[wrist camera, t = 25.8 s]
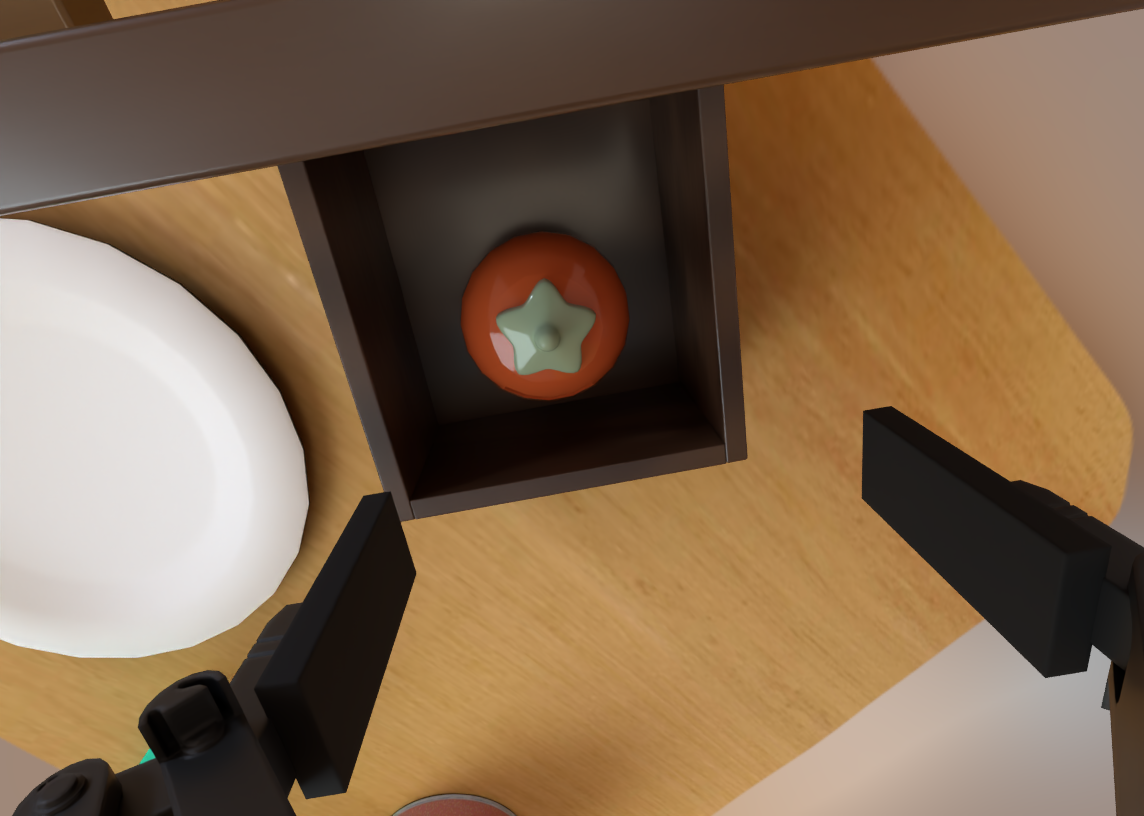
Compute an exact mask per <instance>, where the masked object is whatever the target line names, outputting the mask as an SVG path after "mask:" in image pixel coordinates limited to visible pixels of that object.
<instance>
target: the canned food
mask: <svg viewBox="0 0 1144 816" xmlns="http://www.w3.org/2000/svg"><path fill="white" fill-rule="evenodd" d="M392 816H516V815H515V814H513V813H512V812H511V811H510V810H508V809H507V808H505V807H504V806H502V805H500V804H498V803H496V802H494V801H491V800H488V799H485V798H482V797H477V796H472V795H463V794H447V795H438V796H432V797H428V798H424V799H421V800H418V801H416V802H413V803H411V804H409V805H407V806H405V807H403V808H402V809H400V810H399V811H397V812H396V813H395V814H394V815H392Z"/></svg>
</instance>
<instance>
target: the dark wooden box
mask: <svg viewBox="0 0 1144 816" xmlns="http://www.w3.org/2000/svg"><path fill="white" fill-rule="evenodd" d="M278 169H279V172H280V175H281V178H282V181H283V184H284V187H285V190H286V194H287V197H288V200H289V203H290V206H291V209H292V212H293V215H294V218H295V221H296V224H297V227H298V230H299V233H300V236H301V239H302V242H303V245H304V248H305V252H306V255H307V258H308V261H309V264H310V267H311V270H312V273H313V276H314V279H315V282H316V285H317V288H318V291H319V294H320V297H321V300H322V303H323V307H324V310H325V313H326V316H327V319H328V322H329V325H330V328H331V331H332V334H333V337H334V340H335V343H336V346H337V349H338V352H339V355H340V358H341V362H342V365H343V368H344V371H345V374H346V377H347V380H348V383H349V386H350V389H351V392H352V395H353V398H354V401H355V404H356V407H357V410H358V413H359V417H360V420H361V423H362V426H363V429H364V432H365V435H366V438H367V441H368V444H369V447H370V450H371V453H372V456H373V459H374V462H375V465H376V468H377V472H378V475H379V478H380V481H381V484H382V487H383V490H384V492H389V491H391V494H392V497H393V500H394V503H395V506H396V510H397V513H398V516H399V519H400V522H402V521H408V520H413V519H420V518H426V517H431V516H437V515H443V514H448V513H454V512H459V511H465V510H470V509H476V508H481V507H487V506H493V505H498V504H504V503H509V502H515V501H520V500H526V499H532V498H537V497H543V496H548V495H554V494H559V493H565V492H570V491H576V490H582V489H587V488H593V487H598V486H604V485H609V484H615V483H621V482H626V481H632V480H637V479H643V478H648V477H654V476H659V475H665V474H671V473H676V472H682V471H687V470H693V469H698V468H704V467H710V466H715V465H721V464H726V462H728V463H729V462H735V461H741V460H746V459H747V443H746V427H745V411H744V396H743V380H742V365H741V349H740V333H739V318H738V302H737V287H736V271H735V256H734V240H733V224H732V209H731V193H730V178H729V162H728V146H727V131H726V115H725V100H724V85H719V86H714V87H708V88H703V89H697V90H692V91H686V92H681V93H675V94H670V95H664V96H659V97H653V98H648V99H642V100H637V101H631V102H626V103H620V104H615V105H609V106H604V107H598V108H593V109H587V110H581V111H576V112H570V113H565V114H559V115H554V116H548V117H543V118H537V119H532V120H526V121H521V122H515V123H510V124H504V125H499V126H493V127H488V128H482V129H477V130H471V131H466V132H460V133H455V134H449V135H444V136H438V137H433V138H427V139H422V140H416V141H411V142H405V143H400V144H394V145H389V146H383V147H378V148H372V149H367V150H361V151H355V152H350V153H344V154H339V155H333V156H328V157H322V158H317V159H311V160H306V161H300V162H295V163H289V164H284V165H278ZM540 230H544V231H552V232H559V233H566V234H571V235H573V236H575V237H577V238H579V239H581V240H583V241H585V242H587V243H589V244H591V245H593V246H595V247H596V248H597V249H598V250H599V251H600V252H601V253H602V254H603V255H604V256H605V257H606V258H607V259H608V260H609V261H610V262H611V263H612V264H613V265H614V267H615V269H616V271H617V273H618V275H619V277H620V279H621V281H622V283H623V285H624V287H625V289H626V294H627V301H628V308H629V314H630V322H629V328H628V334H627V340H626V345H625V347H624V349H623V351H622V353H621V355H620V357H619V358H618V360H617V362H616V364H615V366H614V368H613V369H612V370H611V371H610V372H609V373H608V374H607V375H606V376H605V377H604V378H603V379H602V380H601V381H600V382H599V383H598V384H597V385H595V386H594V387H592V388H590V389H588V390H586V391H584V392H582V393H580V394H578V395H577V396H575V397H571V398H566V399H561V400H556V401H551V402H547V401H537V400H528V399H523V398H520V397H518V396H515V395H513V394H511V393H508V392H506V391H503V390H501V389H500V388H498V387H497V386H496V385H495V384H494V383H492V382H491V381H490V380H489V379H488V378H487V377H485V376H484V375H483V374H482V373H481V372H480V370H479V369H478V367H477V366H476V364H475V363H474V361H473V360H472V358H471V356H470V355H469V353H468V352H467V349H466V345H465V341H464V337H463V333H462V329H461V325H460V317H461V300H462V294H463V291H464V289H465V286H466V284H467V282H468V279H469V277H470V274H471V272H472V270H473V269H474V268H475V266H476V265H477V264H478V263H479V262H480V261H481V260H482V258H483V257H484V256H485V255H486V254H487V253H488V251H489V250H490V249H492V248H494V247H495V246H497V245H499V244H501V243H502V242H504V241H506V240H508V239H509V238H511V237H513V236H515V235H520V234H525V233H530V232H535V231H540Z"/></svg>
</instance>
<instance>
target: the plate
mask: <svg viewBox="0 0 1144 816" xmlns="http://www.w3.org/2000/svg"><path fill="white" fill-rule="evenodd" d="M309 504H310V499H309V490H308V480H307V471H306V461H305V452H304V446H303V444H302V441H301V439H300V437H299V434H298V432H297V429H296V427H295V424H294V422H293V419H292V417H291V415H290V412H289V410H288V407H287V405H286V402H285V400H284V397H283V395H282V392H281V390H280V389H279V388H278V386H277V385H276V383H275V382H274V381H273V379H272V378H271V377H270V375H269V374H268V373H267V371H266V370H265V368H264V367H263V366H262V364H261V363H260V362H259V360H258V359H257V358H256V356H255V355H254V353H253V352H252V351H251V349H250V348H249V347H248V345H247V344H246V343H245V341H244V340H243V339H242V337H241V336H240V334H238V333H237V332H236V331H235V330H234V329H233V328H232V327H230V326H229V325H228V324H227V323H226V322H225V321H224V320H222V319H221V318H220V317H219V316H218V315H217V314H215V313H214V312H213V311H212V310H211V309H210V308H209V307H207V306H206V305H205V304H204V303H203V302H202V301H201V300H199V299H198V298H197V297H196V296H195V295H194V294H193V293H191V292H190V291H189V290H188V289H187V288H186V287H184V286H183V285H182V284H181V283H179V282H177V281H175V280H174V279H172V278H170V277H168V276H166V275H165V274H163V273H161V272H159V271H157V270H156V269H154V268H152V267H150V266H148V265H147V264H145V263H143V262H141V261H139V260H138V259H136V258H134V257H132V256H130V255H129V254H127V253H125V252H123V251H121V250H120V249H118V248H116V247H114V246H112V245H111V244H108V243H104V242H101V241H98V240H95V239H91V238H88V237H85V236H81V235H78V234H75V233H71V232H68V231H65V230H61V229H58V228H55V227H52V226H48V225H45V224H42V223H38V222H35V221H32V220H20V219H3V218H0V639H1V640H3V641H6V642H9V643H11V644H14V645H17V646H21V647H27V648H32V649H37V650H42V651H48V652H53V653H58V654H64V655H69V656H74V657H80V658H139V657H144V656H149V655H154V654H159V653H164V652H169V651H174V650H179V649H184V648H188V647H192V646H195V645H197V644H199V643H201V642H203V641H205V640H207V639H209V638H212V637H214V636H216V635H218V634H220V633H222V632H224V631H226V630H229V629H231V628H233V627H235V626H237V625H239V624H240V623H241V622H242V621H243V620H244V619H245V618H247V617H248V616H249V615H250V614H251V613H252V612H253V611H255V610H256V609H257V608H258V607H259V606H260V605H261V604H263V603H264V602H265V601H266V600H267V599H268V598H270V597H271V596H272V595H273V594H274V593H275V591H276V590H277V588H278V586H279V585H280V583H281V581H282V580H283V578H284V576H285V574H286V573H287V571H288V569H289V568H290V566H291V564H292V563H293V561H294V559H295V558H296V556H297V554H298V553H299V551H300V546H301V541H302V537H303V532H304V527H305V523H306V518H307V513H308V508H309Z"/></svg>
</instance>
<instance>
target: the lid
mask: <svg viewBox="0 0 1144 816" xmlns="http://www.w3.org/2000/svg"><path fill="white" fill-rule="evenodd" d="M1138 9H1144V0H217V1H212V2H206V3H201V4H195V5H190V6H185V7H179V8H174V9H168V10H163V11H157V12H152V13H146V14H141V15H135V16H130V17H124V18H119V19H113V18H112V16H111V14H110V12H109V10H108V8H107V6H106V4H105V2H104V0H0V216H3V215H8V214H14V213H19V212H25V211H30V210H36V209H41V208H47V207H52V206H58V205H63V204H69V203H74V202H80V201H85V200H91V199H96V198H102V197H107V196H113V195H118V194H124V193H129V192H135V191H141V190H146V189H152V188H157V187H163V186H168V185H174V184H179V183H185V182H190V181H196V180H201V179H207V178H212V177H218V176H223V175H229V174H234V173H240V172H245V171H251V170H256V169H262V168H267V167H273V166H278V165H284V164H289V163H295V162H300V161H306V160H311V159H317V158H322V157H328V156H333V155H339V154H344V153H350V152H355V151H361V150H367V149H372V148H378V147H383V146H389V145H394V144H400V143H405V142H411V141H416V140H422V139H427V138H433V137H438V136H444V135H449V134H455V133H460V132H466V131H471V130H477V129H482V128H488V127H493V126H499V125H504V124H510V123H515V122H521V121H526V120H532V119H537V118H543V117H548V116H554V115H559V114H565V113H570V112H576V111H581V110H587V109H593V108H598V107H604V106H609V105H615V104H620V103H626V102H631V101H637V100H642V99H648V98H653V97H659V96H664V95H670V94H675V93H681V92H686V91H692V90H697V89H703V88H708V87H714V86H719V85H725V84H730V83H736V82H741V81H747V80H752V79H758V78H763V77H769V76H774V75H780V74H785V73H791V72H796V71H802V70H807V69H813V68H819V67H824V66H830V65H835V64H841V63H846V62H852V61H857V60H863V59H868V58H874V57H879V56H884V55H890V54H896V53H901V52H907V51H912V50H918V49H923V48H929V47H934V46H940V45H945V44H951V43H956V42H962V41H967V40H972V39H978V38H984V37H989V36H995V35H1000V34H1006V33H1011V32H1017V31H1022V30H1028V29H1033V28H1039V27H1044V26H1050V25H1055V24H1061V23H1066V22H1072V21H1077V20H1083V19H1089V18H1094V17H1100V16H1105V15H1111V14H1116V13H1121V12H1127V11H1133V10H1138Z"/></svg>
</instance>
